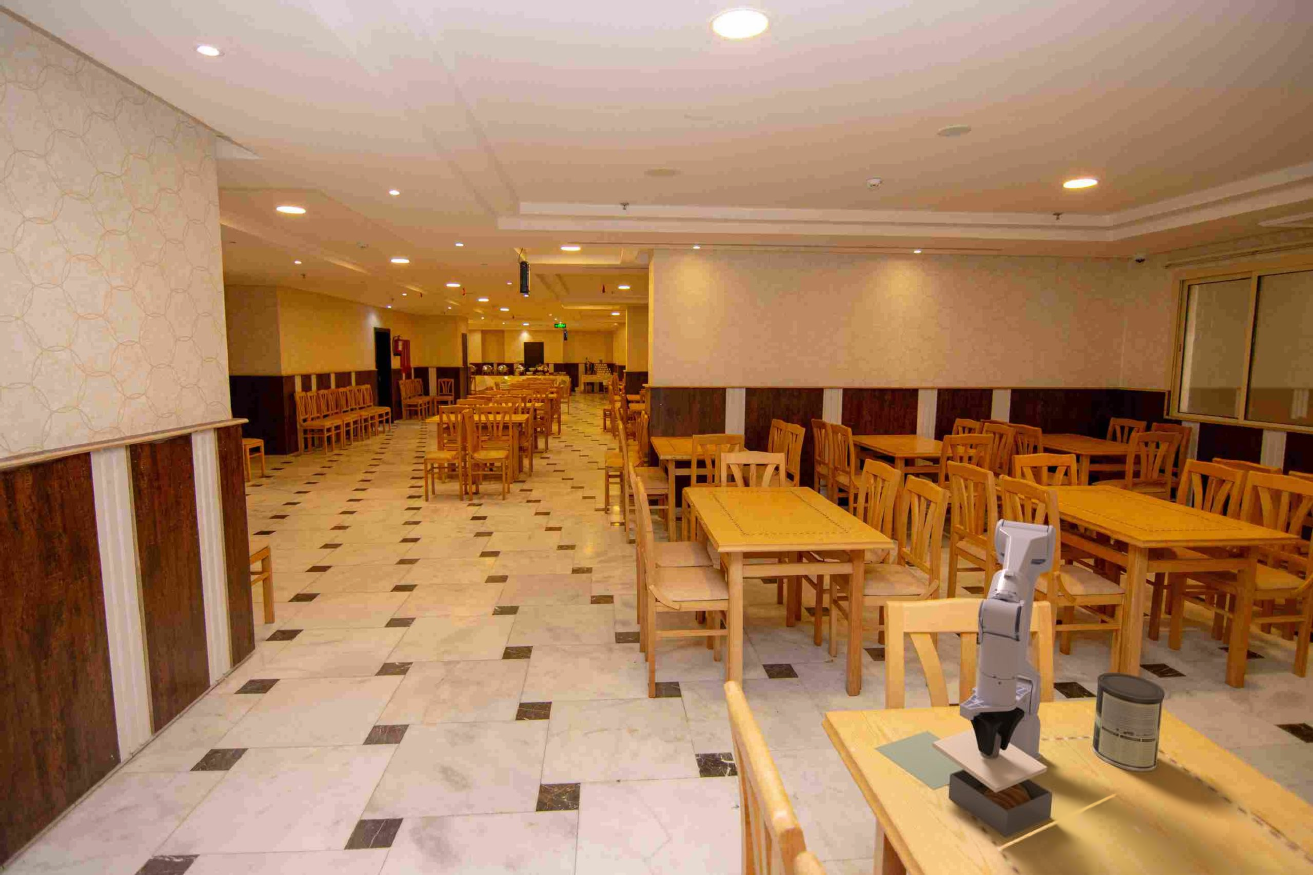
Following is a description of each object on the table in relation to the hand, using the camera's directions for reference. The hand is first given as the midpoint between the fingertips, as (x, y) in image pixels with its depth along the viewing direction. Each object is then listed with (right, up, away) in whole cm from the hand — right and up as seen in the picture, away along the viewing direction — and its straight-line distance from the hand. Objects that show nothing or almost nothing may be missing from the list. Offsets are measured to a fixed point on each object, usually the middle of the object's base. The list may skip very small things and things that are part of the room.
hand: (992, 749), depth 115 cm
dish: (+1, -10, 0) cm, 10 cm away
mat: (-5, -8, +13) cm, 16 cm away
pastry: (+2, -10, -1) cm, 10 cm away
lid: (0, -2, +1) cm, 2 cm away
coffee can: (+32, -8, +15) cm, 36 cm away
